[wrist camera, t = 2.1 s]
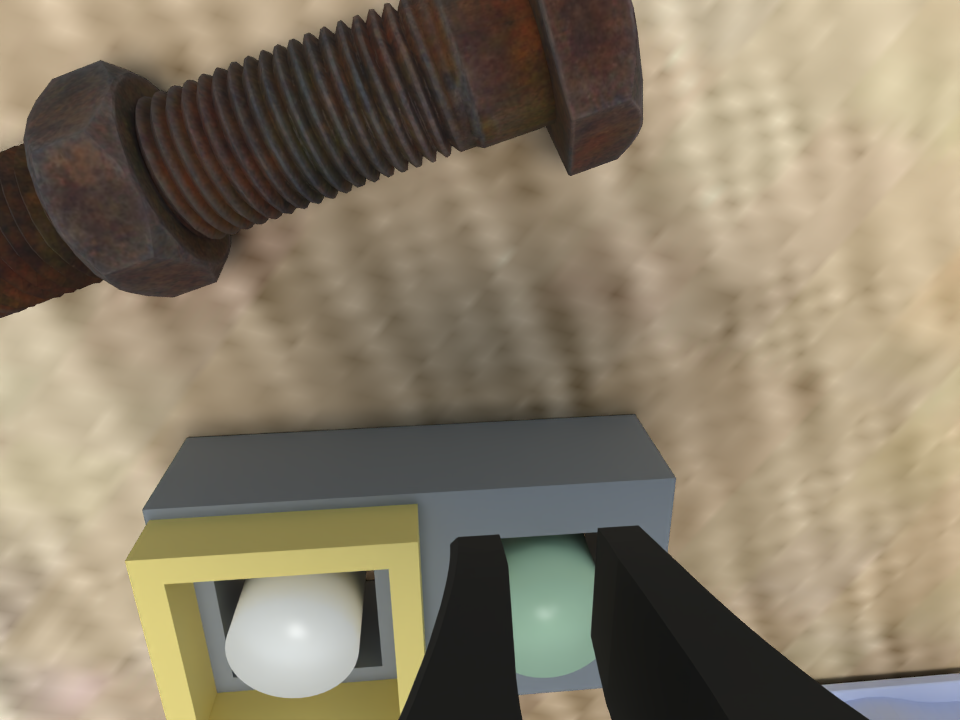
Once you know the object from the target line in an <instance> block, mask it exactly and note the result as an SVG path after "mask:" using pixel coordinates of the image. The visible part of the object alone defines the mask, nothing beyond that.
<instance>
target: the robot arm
mask: <svg viewBox="0 0 960 720" xmlns="http://www.w3.org/2000/svg"><path fill="white" fill-rule="evenodd" d="M591 640H592V644H593V649H594V653H595V658H596V662H597V667H598V671H599V675H600V679H601V684H602V688H603V692H604V696H605V700H606V704H607V707H608V710H609V713H610V716H611V719H612V720H960V673H956V674H944V675H932V676H920V677H908V678H896V679H885V680H873V681H861V682H849V683H837V684H826V685H820V684H819V683H818V682H816V681H815V680H814V679H812V678H811V677H810V676H808V675H807V674H806V673H805V672H803V671H802V670H801V669H800V668H798V667H797V666H796V665H795V664H793V663H792V662H791V661H790V660H788V659H787V658H786V657H785V656H783V655H782V654H781V653H780V652H778V651H777V650H776V649H775V648H773V647H772V646H771V645H769V644H768V643H767V642H766V641H765V640H763V639H762V638H761V637H760V636H759V635H758V634H756V633H755V632H754V631H753V630H752V629H750V628H749V627H748V626H747V625H746V624H745V623H743V622H742V621H741V620H740V619H739V618H738V617H737V616H735V615H734V614H733V613H732V612H731V611H730V610H729V609H728V608H726V607H725V606H724V605H723V604H722V603H721V602H720V601H719V600H717V599H716V598H715V597H714V596H713V595H712V594H711V593H710V592H709V591H708V590H706V589H705V588H704V587H703V586H702V585H701V584H700V583H699V582H698V581H697V580H696V579H695V578H694V577H693V576H692V575H690V574H689V573H688V572H687V571H686V570H685V569H684V568H683V567H682V566H681V565H680V564H679V563H678V562H677V561H676V560H675V559H674V558H673V557H671V556H670V555H669V554H668V553H667V552H666V551H665V550H664V549H663V548H662V547H661V546H660V545H659V544H658V543H657V542H656V541H655V540H654V539H653V538H651V537H650V536H649V535H648V534H647V533H646V532H645V531H644V530H643V529H642V528H641V527H640V526H639V525H635V526H619V527H604V528H598V530H597V545H596V561H595V576H594V591H593V607H592V622H591ZM398 720H522V715H521V710H520V703H519V696H518V688H517V680H516V667H515V652H514V638H513V623H512V609H511V595H510V581H509V567H508V562H507V559H506V555H505V551H504V548H503V544H502V541H501V538H500V535H499V534H496V535H480V536H465V537H457V538H456V539H455V540H454V541H453V542H452V543H451V544H450V561H449V569H448V575H447V580H446V585H445V589H444V593H443V597H442V601H441V605H440V609H439V612H438V615H437V618H436V621H435V625H434V628H433V631H432V634H431V638H430V641H429V644H428V647H427V650H426V652H425V655H424V658H423V660H422V663H421V665H420V668H419V671H418V673H417V676H416V678H415V681H414V683H413V686H412V688H411V691H410V693H409V696H408V698H407V701H406V703H405V706H404V708H403V710H402V713H401V715H400V717H399V719H398Z"/></svg>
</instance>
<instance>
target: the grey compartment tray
mask: <svg viewBox="0 0 960 720" xmlns="http://www.w3.org/2000/svg"><path fill="white" fill-rule="evenodd" d="M675 482H676V477H675V476H674V474H673V473H672V471H671V470H670V468H669V466H668V465H667V463H666V462H665V460H664V459H663V457H662V456H661V454H660V452H659V451H658V449H657V448H656V446H655V445H654V443H653V442H652V440H651V438H650V437H649V435H648V434H647V432H646V431H645V429H644V428H643V426H642V424H641V423H640V421H639V420H638V418H637V417H636V415H635V414H634V415H615V416H595V417H576V418H557V419H538V420H519V421H500V422H481V423H461V424H442V425H423V426H404V427H385V428H366V429H346V430H327V431H308V432H289V433H270V434H251V435H232V436H212V437H193V438H186V440H185V442H184V443H183V445H182V446H181V448H180V450H179V451H178V453H177V454H176V456H175V458H174V459H173V461H172V463H171V464H170V466H169V467H168V469H167V471H166V472H165V474H164V476H163V477H162V479H161V480H160V482H159V484H158V485H157V487H156V488H155V490H154V492H153V493H152V495H151V497H150V498H149V500H148V501H147V503H146V505H145V506H144V508H143V510H142V511H143V515H144V519H145V523H146V526H145V528H144V530H143V531H142V533H141V535H140V536H139V538H138V540H137V542H136V543H135V545H134V547H133V548H132V550H131V552H130V553H129V555H128V557H127V559H126V560H125V563H126V567H127V571H128V575H129V578H130V582H131V586H132V590H133V594H134V597H135V601H136V605H137V609H138V613H139V617H140V620H141V624H142V628H143V632H144V636H145V640H146V643H147V647H148V651H149V655H150V659H151V663H152V666H153V670H154V674H155V678H156V682H157V686H158V689H159V693H160V697H161V701H162V705H163V709H164V712H165V716H166V720H398V719H399V717H400V715H401V713H402V710H403V708H404V706H405V703H406V701H407V698H408V696H409V693H410V691H411V688H412V686H413V683H414V681H415V678H416V676H417V673H418V671H419V668H420V665H421V663H422V660H423V658H424V655H425V652H426V650H427V647H428V644H429V641H430V638H431V634H432V631H433V628H434V625H435V621H436V618H437V615H438V612H439V609H440V605H441V601H442V597H443V593H444V589H445V585H446V580H447V575H448V569H449V561H450V544H451V543H452V542H453V541H454V540H455V539H456V538H457V537H465V536H480V535H496V534H499V535H500V538H515V537H531V536H546V535H561V534H577V533H585V539H586V542H587V545H588V547H589V550H590V553H591V556H592V558H593V561H594V564H595V561H596V545H597V530H598V528H604V527H619V526H635V525H639V526H640V527H641V528H642V529H643V530H644V531H645V532H646V533H647V534H648V535H649V536H650V537H651V538H653V539H654V540H655V541H656V542H657V543H658V544H659V545H660V546H661V547H662V548H663V549H664V550H665V551H666V552H668V543H669V534H670V526H671V517H672V508H673V500H674V491H675ZM368 570H374V576H375V580H374V581H366V582H365V592H364V603H363V613H362V624H361V634H360V645H359V654H358V659H357V662H356V665H355V667H354V669H353V670H352V672H351V673H350V674H349V676H348V677H347V678H346V679H345V680H344V681H343V682H341V683H340V684H339V685H337V686H336V687H334V688H332V689H331V690H328V691H326V692H324V693H321V694H318V695H314V696H310V697H304V698H282V697H275V696H271V695H267V694H265V693H262V692H259V691H257V690H255V689H253V688H251V687H250V686H248V685H247V684H245V683H244V682H243V681H242V680H240V679H239V678H238V677H237V676H236V674H235V673H234V672H233V670H232V669H231V667H230V665H229V663H228V661H227V658H226V653H225V642H226V638H227V634H228V631H229V628H230V625H231V622H232V619H233V616H234V613H235V610H236V607H237V604H238V601H239V598H240V595H241V592H242V589H243V586H244V583H245V580H246V579H250V578H264V577H279V576H294V575H309V574H323V573H338V572H353V571H368ZM516 680H517V688H518V695H523V694H536V693H548V692H560V691H572V690H584V689H596V688H602V684H601V679H600V675H599V671H598V667H597V662H596V659H595V660H593V661H592V662H591V663H589V664H588V665H586V666H585V667H583V668H581V669H579V670H577V671H575V672H572V673H569V674H566V675H563V676H558V677H551V678H535V677H529V676H524V675H521V674H518V673H516Z"/></svg>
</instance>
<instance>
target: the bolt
mask: <svg viewBox="0 0 960 720" xmlns="http://www.w3.org/2000/svg"><path fill="white" fill-rule="evenodd" d="M642 124H643V78H642V68H641V59H640V50H639V40H638V31H637V25H636V19H635V13H634V7H633V4H632V1H631V0H400V2H399V6H398V11H396V10H395V9H394V8H393V7H392V6H391V5H390V3H385V4H384V9H383V13H382V18H381V17H380V16H379V15H378V14H377V12H376V11H375V10H374V9H370V10H369V12H368V17H367V21H366V23H365V22H364V21H363V20H362V19H361V18H360V17H359V15H357V16H355V17H353V22H352V28H351V29H350V28H349V27H348V26H347V25H346V24H345V23H344V22H343V21H342V20H340V21H338V23H337V27H336V32H335V34H333V33H332V32H331V31H330V30H329V29H327V28H326V27H325V26H324V27H323V28H322V29H320V35H319V40H318V39H317V38H316V37H315V36H314V35H312V34H311V33H307V34H304V40H303V45H302V44H301V43H300V42H299V41H297V40H295V39H291V40H289V42H288V47H287V49H286V48H285V47H283V46H281V45H278V44H277V45H276V46H275V47H274V50H273V55H272V54H271V53H269V52H267V51H265V50H262V51H261V53H260V56H259V61H258V60H256V59H255V58H253V57H250V56H247V57H246V58H245V59H244V65H243V67H242V66H241V65H240V64H239V63H237V62H231V64H230V66H229V68H228V71H227V70H225V69H221V68H216V69H215V71H214V74H213V76H211V75H206V74H202V75H201V76H200V77H199V79H198V83H197V82H196V81H193V80H187V81H186V82H185V84H184V85H183V88H182V87H180V86H175V85H174V86H172V87H170V89H169V90H168V93H166V92H164V91H160V90H159V89H157V88H156V87H155V86H154V85H153V84H152V83H151V82H149V81H148V80H147V79H145V78H143V77H141V76H139V75H137V74H135V73H133V72H131V71H128V70H126V69H123V68H120V67H117V66H115V65H112V64H109V63H107V62H104V61H101V60H100V61H98V62H95V63H93V64H90V65H87V66H85V67H82V68H80V69H77V70H75V71H72V72H69V73H67V74H64V75H62V76H59V77H57V78H54V79H52V80H51V82H50V83H49V84H48V86H47V87H46V88H45V89H44V91H43V92H42V93H41V95H40V96H39V97H38V99H37V100H36V102H35V104H34V106H33V108H32V110H31V112H30V114H29V116H28V118H27V124H26V129H25V134H24V143H23V144H21V145H20V146H14V147H12V148H9V149H7V150H5V151H2V152H0V318H2V317H5V316H8V315H11V314H13V313H17V312H20V311H22V310H25V309H27V308H28V307H33V306H35V305H36V304H40V303H42V302H45V301H47V300H49V299H52V298H56V297H61V296H62V295H63V294H64V293H71V292H74V291H76V290H77V289H82V288H84V287H86V286H88V285H91V284H93V283H100V282H101V281H103V280H105V281H106V282H108V283H110V284H111V285H113V286H114V287H116V288H118V289H120V290H123V291H126V292H130V293H135V294H140V295H145V296H157V297H176V296H179V295H181V294H184V293H187V292H190V291H193V290H195V289H198V288H201V287H204V286H206V285H209V284H212V283H215V282H217V280H218V277H219V275H220V273H221V271H222V269H223V266H224V264H225V262H226V260H227V258H228V254H229V251H230V247H231V237H230V234H235V233H238V232H239V230H240V229H249V228H251V227H252V226H253V225H254V224H255V223H256V224H263V223H265V222H266V221H267V220H268V218H271V219H277V218H279V217H280V216H281V215H282V213H289V214H292V213H293V212H294V210H295V209H296V208H303V209H305V208H307V207H308V205H309V203H310V202H312V203H317V204H319V203H321V202H322V200H323V198H324V196H325V197H327V198H332V199H333V198H335V197H336V195H337V194H338V191H340V192H344V193H348V192H349V191H351V188H352V184H353V185H354V186H356V187H361V186H363V185H365V182H366V178H367V179H368V180H370V181H373V182H376V181H377V180H379V177H380V173H382V174H383V175H385V176H387V177H390V176H392V175H393V174H394V167H395V168H396V169H397V170H399V171H400V172H405V171H406V170H408V162H410V163H411V164H412V165H414V166H415V167H420V166H421V165H422V157H423V156H424V157H425V158H427V159H428V160H429V161H431V162H432V163H433V162H435V161H436V151H438V152H440V153H441V154H443V155H444V156H445V157H448V156H450V154H451V146H453V147H455V148H456V149H458V150H459V151H460V152H462V151H465V150H468V149H470V148H473V147H476V146H477V147H482V148H486V147H489V146H491V145H494V144H497V143H500V142H503V141H506V140H508V139H511V138H514V137H517V136H520V135H523V134H525V133H528V132H531V131H534V130H537V129H540V128H542V127H545V126H546V128H547V130H548V132H549V134H550V136H551V138H552V140H553V143H554V145H555V147H556V149H557V151H558V153H559V155H560V158H561V160H562V162H563V164H564V166H565V168H566V171H567V173H568V175H570V176H572V175H575V174H577V173H580V172H583V171H586V170H588V169H591V168H594V167H597V166H600V165H602V164H605V163H608V162H611V161H613V160H616V159H618V158H619V157H620V156H621V155H622V154H623V153H624V151H625V150H626V149H627V148H628V147H629V146H630V145H631V144H632V142H633V141H634V140H635V138H636V137H637V135H638V134H639V132H640V129H641V127H642Z"/></svg>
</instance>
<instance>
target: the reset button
mask: <svg viewBox="0 0 960 720" xmlns="http://www.w3.org/2000/svg"><path fill="white" fill-rule="evenodd" d="M365 582H366V571H353V572H338V573H323V574H309V575H294V576H279V577H264V578H250V579H246V580H245V583H244V586H243V589H242V592H241V595H240V598H239V601H238V604H237V607H236V610H235V613H234V616H233V619H232V622H231V625H230V628H229V631H228V634H227V638H226V642H225V653H226V658H227V661H228V663H229V665H230V667H231V669H232V670H233V672H234V673H235V674H236V676H237V677H238V678H239V679H240V680H242V681H243V682H244V683H245V684H247V685H248V686H250V687H251V688H253V689H255V690H257V691H259V692H262V693H265V694H267V695H271V696H275V697H282V698H304V697H310V696H314V695H318V694H321V693H324V692H326V691H328V690H331V689H332V688H334V687H336V686H337V685H339V684H340V683H341V682H343V681H344V680H345V679H346V678H347V677H348V676H349V674H350V673H351V672H352V670H353V669H354V667H355V665H356V662H357V659H358V654H359V645H360V634H361V624H362V613H363V603H364V592H365Z"/></svg>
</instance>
